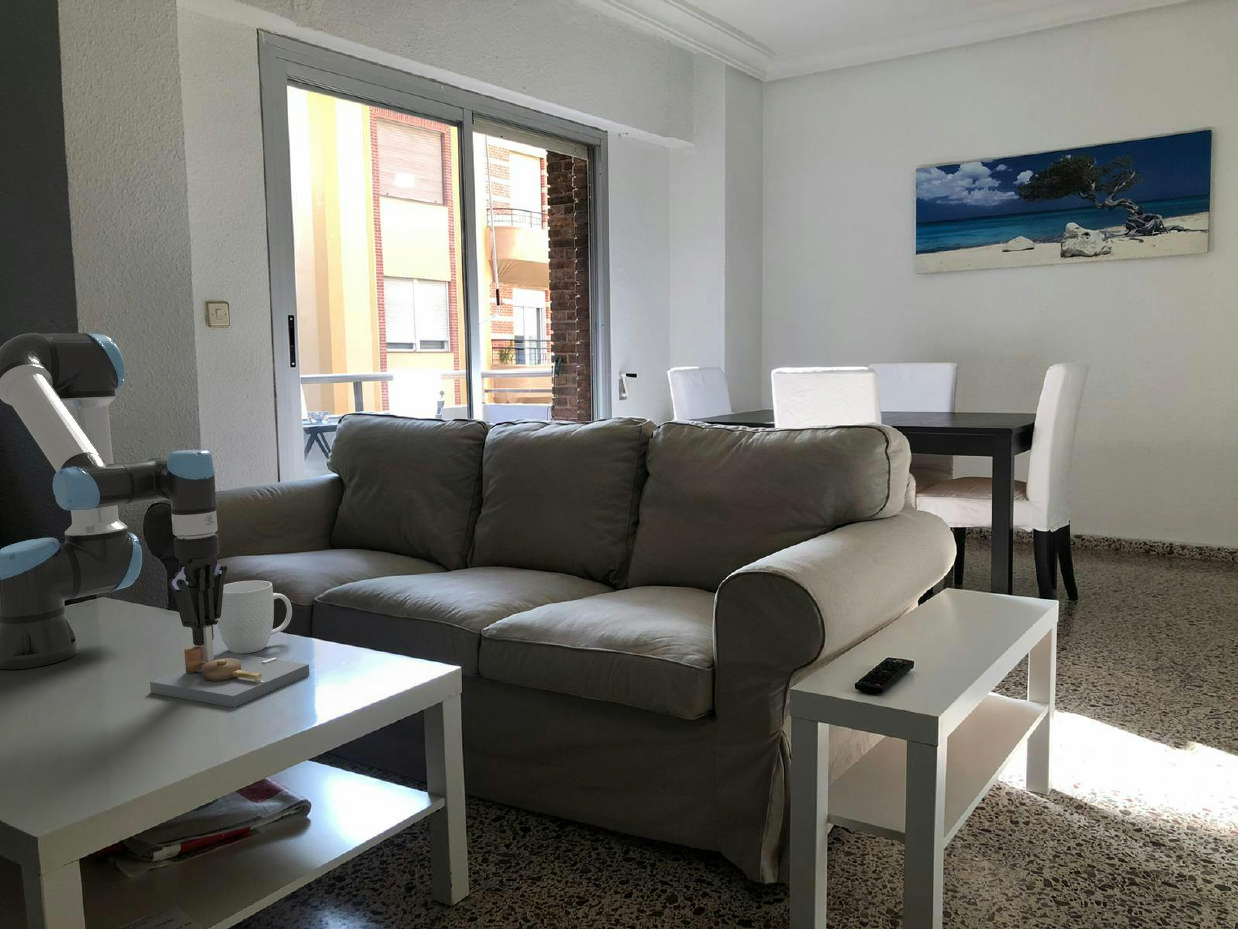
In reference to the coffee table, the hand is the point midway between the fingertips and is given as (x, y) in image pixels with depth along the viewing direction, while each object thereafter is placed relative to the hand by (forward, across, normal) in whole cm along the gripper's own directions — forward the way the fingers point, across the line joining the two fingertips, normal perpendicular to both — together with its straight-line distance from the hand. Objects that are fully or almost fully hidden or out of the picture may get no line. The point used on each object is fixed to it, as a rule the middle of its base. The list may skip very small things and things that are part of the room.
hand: (204, 660), depth 178 cm
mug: (+4, +18, +4) cm, 19 cm away
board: (+3, -2, -7) cm, 8 cm away
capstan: (+1, -3, -6) cm, 7 cm away
